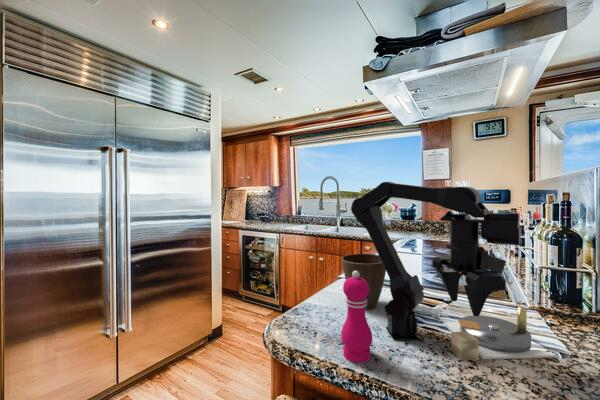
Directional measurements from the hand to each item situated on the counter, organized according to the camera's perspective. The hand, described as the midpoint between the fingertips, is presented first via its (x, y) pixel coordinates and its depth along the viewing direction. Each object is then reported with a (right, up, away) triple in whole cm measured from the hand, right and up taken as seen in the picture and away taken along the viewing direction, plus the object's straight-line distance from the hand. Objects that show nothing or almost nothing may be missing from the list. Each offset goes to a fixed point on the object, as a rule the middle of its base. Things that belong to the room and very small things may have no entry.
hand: (464, 307), depth 65 cm
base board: (+12, -11, +7) cm, 17 cm away
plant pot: (-16, -11, +30) cm, 36 cm away
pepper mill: (-25, -12, +1) cm, 27 cm away
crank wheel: (+12, -11, +7) cm, 17 cm away
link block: (0, -11, 0) cm, 11 cm away
